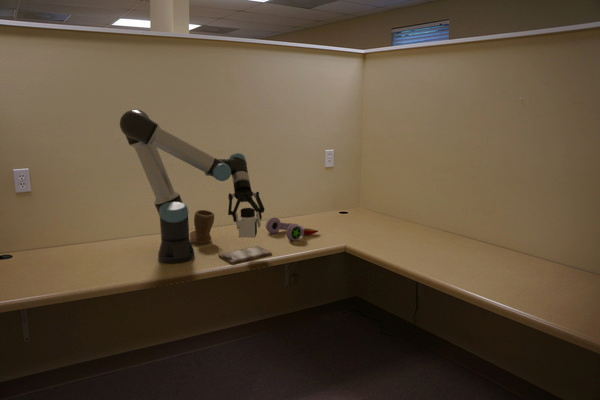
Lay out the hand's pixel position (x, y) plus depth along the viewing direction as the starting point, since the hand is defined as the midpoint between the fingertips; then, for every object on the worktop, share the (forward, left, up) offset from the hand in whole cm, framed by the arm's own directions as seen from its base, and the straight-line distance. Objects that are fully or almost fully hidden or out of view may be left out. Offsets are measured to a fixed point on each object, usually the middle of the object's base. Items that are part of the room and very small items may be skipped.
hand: (249, 226), depth 192 cm
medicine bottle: (+1, +3, -5) cm, 6 cm away
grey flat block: (0, +3, -14) cm, 14 cm away
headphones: (+36, +17, -14) cm, 43 cm away
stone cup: (-5, +35, -14) cm, 38 cm away
